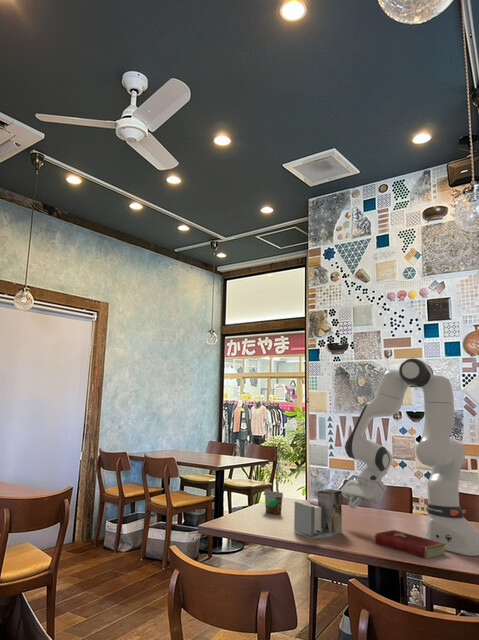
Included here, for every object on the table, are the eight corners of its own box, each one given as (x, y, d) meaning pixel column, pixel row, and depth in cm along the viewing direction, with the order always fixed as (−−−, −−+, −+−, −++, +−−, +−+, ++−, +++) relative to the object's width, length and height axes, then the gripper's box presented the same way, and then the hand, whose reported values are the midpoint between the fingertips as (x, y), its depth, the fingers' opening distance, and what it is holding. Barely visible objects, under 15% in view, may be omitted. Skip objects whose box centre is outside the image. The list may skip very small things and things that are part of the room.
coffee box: (327, 529, 187) (327, 488, 191) (342, 532, 183) (341, 490, 187) (317, 533, 180) (317, 490, 184) (332, 536, 176) (332, 492, 180)
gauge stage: (326, 532, 175) (326, 506, 177) (315, 533, 173) (316, 507, 175) (312, 527, 183) (312, 502, 185) (302, 528, 181) (302, 503, 183)
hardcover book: (426, 560, 152) (425, 547, 153) (374, 544, 169) (374, 532, 170) (446, 555, 159) (445, 542, 160) (394, 541, 175) (394, 529, 176)
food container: (258, 510, 219) (259, 488, 221) (269, 510, 222) (270, 488, 224) (271, 516, 208) (271, 493, 210) (282, 515, 211) (283, 492, 213)
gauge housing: (333, 536, 175) (333, 505, 178) (311, 539, 171) (311, 506, 173) (315, 530, 185) (315, 500, 187) (294, 532, 180) (294, 501, 183)
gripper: (347, 473, 203) (330, 497, 196) (381, 478, 185) (364, 505, 179) (355, 483, 204) (339, 508, 197) (390, 489, 186) (373, 516, 180)
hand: (351, 506), depth 188 cm, fingers closed
